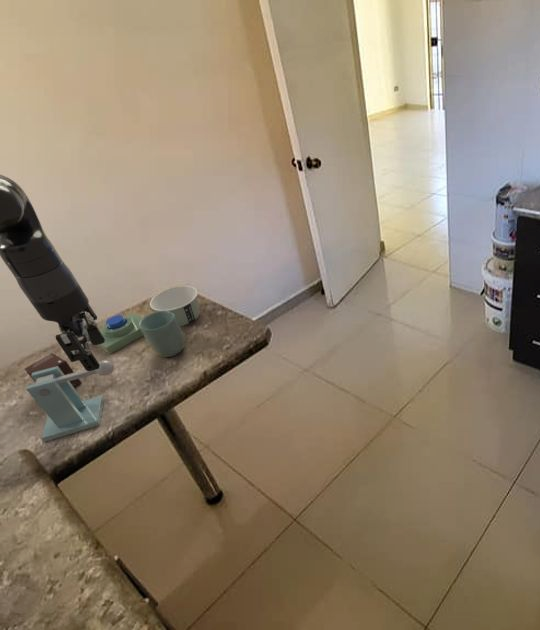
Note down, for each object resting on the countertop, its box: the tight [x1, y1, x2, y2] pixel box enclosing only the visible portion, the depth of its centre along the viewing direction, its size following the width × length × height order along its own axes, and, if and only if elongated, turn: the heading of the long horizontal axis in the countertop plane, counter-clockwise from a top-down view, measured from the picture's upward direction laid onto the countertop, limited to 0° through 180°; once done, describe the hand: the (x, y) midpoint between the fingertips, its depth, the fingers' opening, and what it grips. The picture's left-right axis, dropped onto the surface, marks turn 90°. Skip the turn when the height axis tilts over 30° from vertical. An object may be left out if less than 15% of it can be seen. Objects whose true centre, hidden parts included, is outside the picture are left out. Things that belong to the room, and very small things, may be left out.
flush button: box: [105, 314, 126, 329], centre depth 113 cm, size 4×4×2 cm
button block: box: [95, 312, 144, 355], centre depth 114 cm, size 12×9×4 cm
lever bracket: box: [25, 366, 105, 443], centre depth 89 cm, size 10×8×13 cm
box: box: [24, 352, 82, 389], centre depth 99 cm, size 6×6×7 cm
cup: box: [139, 311, 186, 358], centre depth 107 cm, size 8×8×10 cm
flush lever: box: [34, 359, 115, 385], centre depth 88 cm, size 13×3×3 cm, turn 115°
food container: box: [149, 285, 201, 327], centre depth 120 cm, size 12×12×6 cm
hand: (96, 355), depth 87 cm, fingers open, 8 cm apart
